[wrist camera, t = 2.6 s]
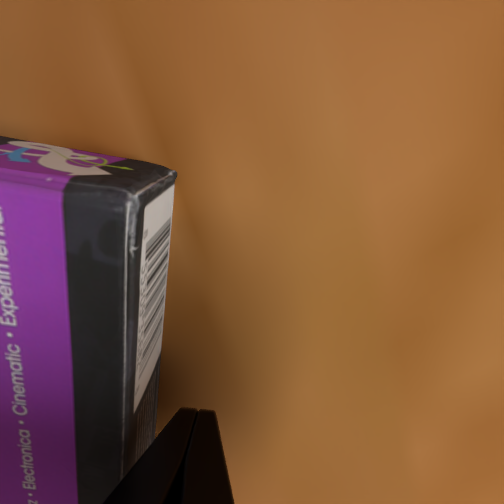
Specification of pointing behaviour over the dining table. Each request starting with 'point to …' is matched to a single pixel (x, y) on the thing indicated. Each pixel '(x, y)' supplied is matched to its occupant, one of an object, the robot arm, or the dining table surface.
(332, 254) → the dining table surface
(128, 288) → the box
